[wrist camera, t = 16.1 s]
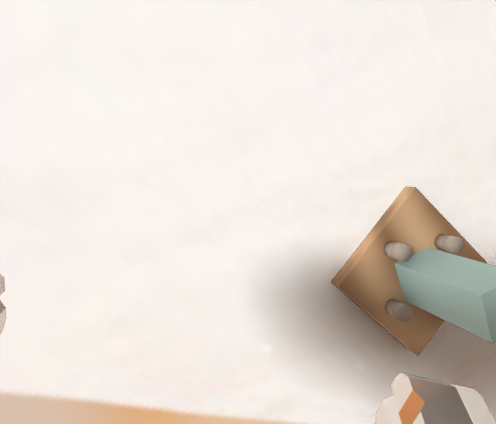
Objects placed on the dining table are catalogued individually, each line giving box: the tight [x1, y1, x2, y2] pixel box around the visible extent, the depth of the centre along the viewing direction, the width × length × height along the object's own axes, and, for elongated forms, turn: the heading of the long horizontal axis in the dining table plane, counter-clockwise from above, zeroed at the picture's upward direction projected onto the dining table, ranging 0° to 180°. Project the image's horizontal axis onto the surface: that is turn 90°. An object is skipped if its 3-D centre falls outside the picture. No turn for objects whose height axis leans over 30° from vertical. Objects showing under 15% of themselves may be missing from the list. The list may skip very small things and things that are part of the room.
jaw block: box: [395, 248, 496, 343], centre depth 34 cm, size 4×4×10 cm
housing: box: [331, 187, 487, 355], centre depth 38 cm, size 12×12×4 cm
